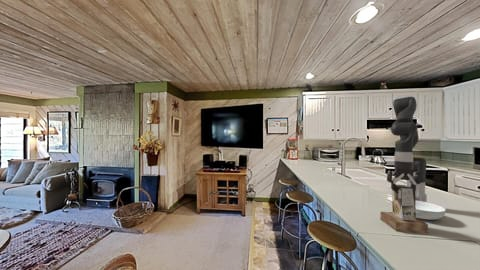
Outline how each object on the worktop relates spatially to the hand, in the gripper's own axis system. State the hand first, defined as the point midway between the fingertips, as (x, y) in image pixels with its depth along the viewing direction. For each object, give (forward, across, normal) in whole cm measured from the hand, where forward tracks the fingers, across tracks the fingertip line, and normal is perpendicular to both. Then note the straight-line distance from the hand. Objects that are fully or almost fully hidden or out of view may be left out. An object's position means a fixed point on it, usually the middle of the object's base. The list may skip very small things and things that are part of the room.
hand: (403, 191), depth 104 cm
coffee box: (+14, 0, 0) cm, 14 cm away
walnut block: (+19, 0, 0) cm, 19 cm away
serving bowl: (+19, -18, -17) cm, 31 cm away
